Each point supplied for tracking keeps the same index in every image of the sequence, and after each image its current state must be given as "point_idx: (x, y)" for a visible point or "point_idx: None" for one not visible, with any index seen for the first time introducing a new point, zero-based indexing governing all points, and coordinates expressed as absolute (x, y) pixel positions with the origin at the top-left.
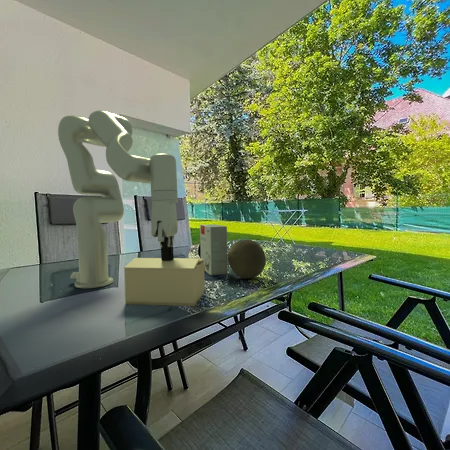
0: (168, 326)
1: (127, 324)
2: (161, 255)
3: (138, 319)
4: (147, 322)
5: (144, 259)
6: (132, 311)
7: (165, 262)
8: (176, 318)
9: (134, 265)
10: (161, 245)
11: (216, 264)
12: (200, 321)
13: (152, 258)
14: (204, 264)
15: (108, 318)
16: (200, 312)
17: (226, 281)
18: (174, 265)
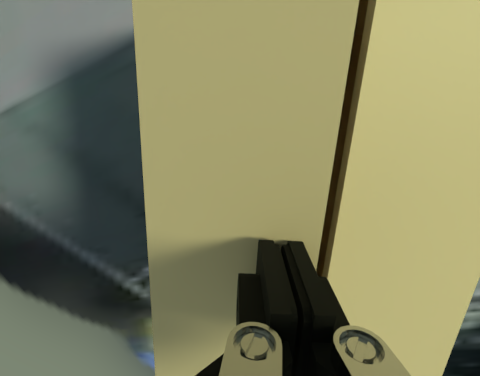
0: (31, 241)
1: (7, 117)
2: (260, 261)
3: (53, 138)
4: (39, 175)
5: (306, 70)
6: (116, 84)
7: (231, 265)
8: (88, 248)
9: (173, 24)
10: (228, 353)
11: None
12: (83, 308)
13: (323, 145)
14: None
15: (32, 17)
16: (144, 300)
17: (477, 341)
18: (187, 320)
